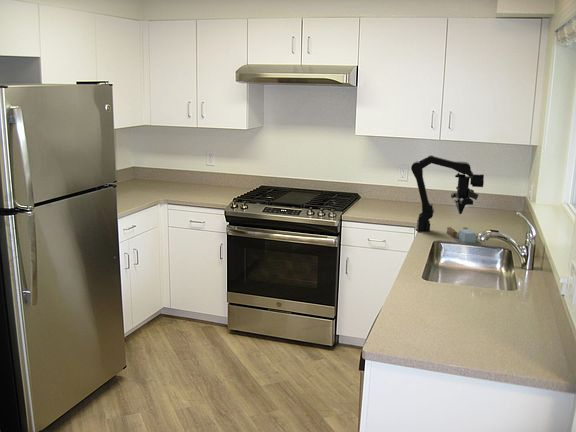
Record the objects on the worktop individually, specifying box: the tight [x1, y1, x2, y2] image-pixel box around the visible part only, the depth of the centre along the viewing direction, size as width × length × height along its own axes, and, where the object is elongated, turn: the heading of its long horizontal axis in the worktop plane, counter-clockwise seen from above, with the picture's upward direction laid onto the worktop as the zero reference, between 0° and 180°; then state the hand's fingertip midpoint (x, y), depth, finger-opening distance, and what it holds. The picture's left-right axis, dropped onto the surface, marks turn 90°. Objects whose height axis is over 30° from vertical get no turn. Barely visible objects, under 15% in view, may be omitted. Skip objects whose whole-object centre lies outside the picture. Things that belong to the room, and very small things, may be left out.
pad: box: [451, 237, 482, 245], centre depth 316 cm, size 12×12×1 cm
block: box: [458, 228, 477, 243], centre depth 316 cm, size 6×8×5 cm
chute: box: [446, 226, 469, 238], centre depth 326 cm, size 12×10×3 cm
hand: (460, 213), depth 326 cm, fingers closed
